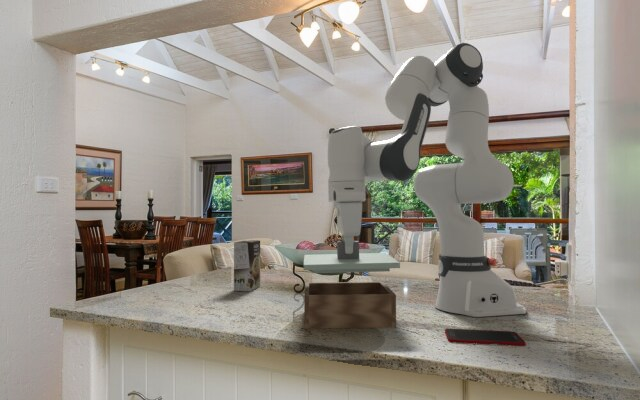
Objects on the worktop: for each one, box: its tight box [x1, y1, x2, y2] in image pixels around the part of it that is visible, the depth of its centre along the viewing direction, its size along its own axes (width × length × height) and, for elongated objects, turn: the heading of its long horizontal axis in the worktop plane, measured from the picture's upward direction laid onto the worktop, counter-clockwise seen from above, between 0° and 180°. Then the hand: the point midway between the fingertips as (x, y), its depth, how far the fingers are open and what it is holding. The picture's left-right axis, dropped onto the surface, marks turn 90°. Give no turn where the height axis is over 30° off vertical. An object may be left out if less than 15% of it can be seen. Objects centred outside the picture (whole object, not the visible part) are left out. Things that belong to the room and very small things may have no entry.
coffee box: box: [233, 239, 261, 292], centre depth 139 cm, size 9×6×16 cm
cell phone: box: [444, 328, 526, 347], centre depth 85 cm, size 8×15×1 cm, turn 80°
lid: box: [303, 240, 401, 274], centre depth 98 cm, size 21×17×6 cm
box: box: [303, 281, 397, 329], centre depth 98 cm, size 20×16×8 cm
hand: (348, 252), depth 98 cm, fingers closed on lid, 2 cm apart
